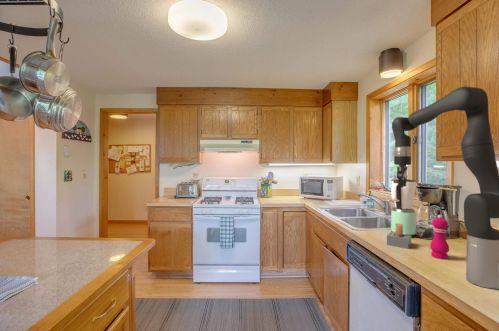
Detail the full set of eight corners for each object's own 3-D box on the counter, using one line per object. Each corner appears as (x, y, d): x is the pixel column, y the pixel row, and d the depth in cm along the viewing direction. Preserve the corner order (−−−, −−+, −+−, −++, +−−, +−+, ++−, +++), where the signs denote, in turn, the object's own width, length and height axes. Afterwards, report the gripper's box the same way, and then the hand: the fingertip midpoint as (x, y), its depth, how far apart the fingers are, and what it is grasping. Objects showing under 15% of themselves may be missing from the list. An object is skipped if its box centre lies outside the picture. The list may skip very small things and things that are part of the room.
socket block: (411, 244, 137) (411, 235, 137) (408, 248, 129) (408, 239, 129) (390, 240, 143) (390, 231, 143) (386, 244, 136) (386, 235, 136)
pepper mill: (434, 258, 116) (434, 215, 116) (427, 253, 123) (427, 212, 123) (452, 260, 114) (453, 216, 114) (444, 254, 121) (444, 213, 121)
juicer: (399, 230, 165) (400, 177, 164) (421, 235, 153) (422, 179, 152) (382, 234, 155) (383, 178, 155) (404, 240, 144) (405, 179, 143)
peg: (403, 242, 136) (403, 224, 136) (401, 243, 134) (402, 225, 134) (395, 241, 139) (396, 223, 139) (394, 242, 136) (394, 224, 136)
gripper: (408, 155, 122) (408, 188, 122) (413, 156, 133) (412, 186, 133) (391, 155, 127) (391, 187, 127) (397, 156, 138) (396, 185, 138)
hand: (402, 186), depth 130 cm, fingers open, 8 cm apart
